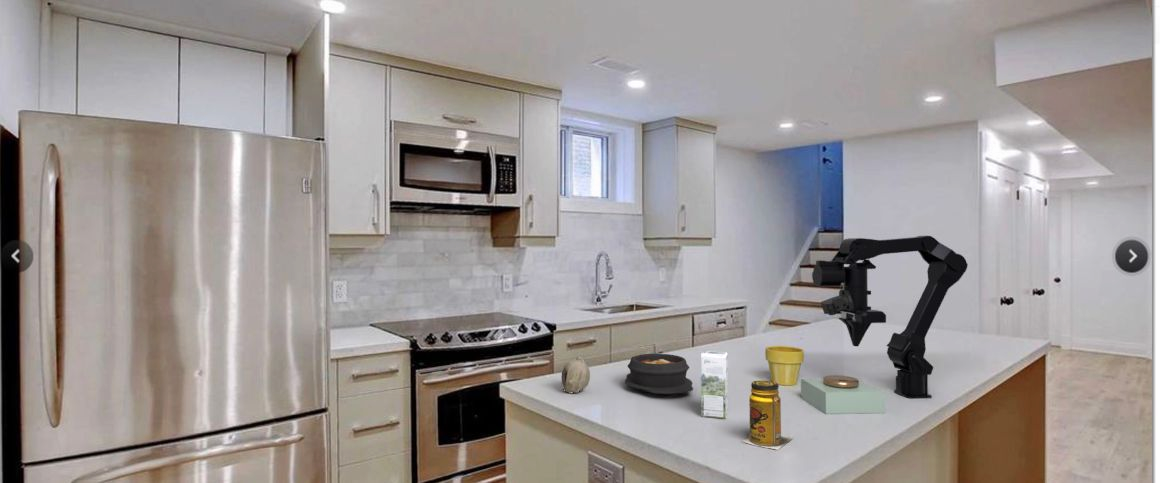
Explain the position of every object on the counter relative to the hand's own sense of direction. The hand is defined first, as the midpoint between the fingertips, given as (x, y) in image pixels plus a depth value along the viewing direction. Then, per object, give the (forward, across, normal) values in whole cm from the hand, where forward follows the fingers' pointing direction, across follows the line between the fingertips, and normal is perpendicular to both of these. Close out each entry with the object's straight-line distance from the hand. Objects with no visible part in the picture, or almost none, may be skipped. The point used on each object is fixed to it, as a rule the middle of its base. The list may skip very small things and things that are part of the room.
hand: (855, 346), depth 151 cm
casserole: (+13, -11, -50) cm, 53 cm away
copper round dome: (+12, +8, -8) cm, 16 cm away
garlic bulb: (+13, -9, -73) cm, 75 cm away
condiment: (+13, +32, -35) cm, 49 cm away
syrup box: (+13, +14, -41) cm, 45 cm away
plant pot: (+13, -15, -13) cm, 24 cm away
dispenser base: (+13, +8, -8) cm, 17 cm away
